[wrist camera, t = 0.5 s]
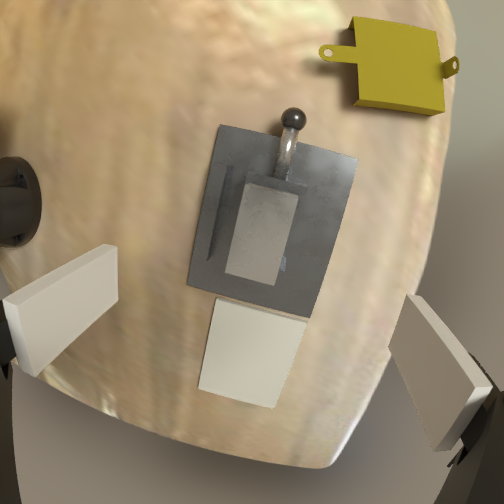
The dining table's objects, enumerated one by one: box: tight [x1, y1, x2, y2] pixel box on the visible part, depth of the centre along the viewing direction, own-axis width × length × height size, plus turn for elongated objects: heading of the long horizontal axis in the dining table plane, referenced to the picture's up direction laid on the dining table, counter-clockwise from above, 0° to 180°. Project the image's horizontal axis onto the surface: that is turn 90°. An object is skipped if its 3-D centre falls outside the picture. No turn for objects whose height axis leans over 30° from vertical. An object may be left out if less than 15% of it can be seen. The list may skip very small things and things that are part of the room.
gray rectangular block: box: [225, 183, 298, 286], centre depth 30 cm, size 4×7×12 cm, turn 166°
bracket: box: [319, 16, 459, 116], centre depth 27 cm, size 16×8×15 cm
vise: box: [187, 107, 358, 318], centre depth 34 cm, size 16×23×6 cm
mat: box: [198, 297, 307, 409], centre depth 42 cm, size 12×16×1 cm
